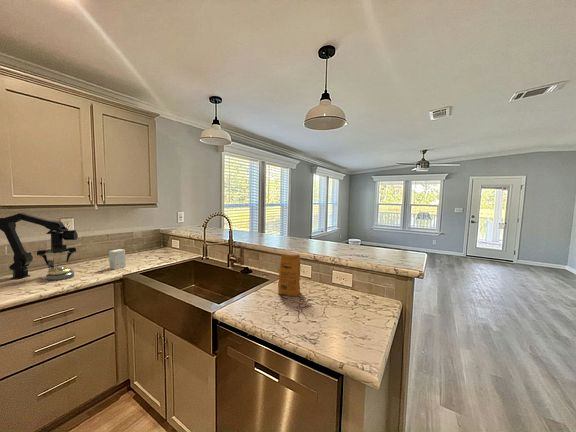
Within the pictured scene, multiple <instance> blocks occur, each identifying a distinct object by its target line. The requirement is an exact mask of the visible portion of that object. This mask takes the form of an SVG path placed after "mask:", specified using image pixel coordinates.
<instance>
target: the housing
mask: <svg viewBox="0 0 576 432" xmlns="http://www.w3.org/2000/svg"><path fill="white" fill-rule="evenodd" d="M74 277H75V271H74V270H72V272H70V273H67V274H63V275H54V276H51V275H48V273H47V274H45V279H46V280H47V281H46V282H58V281H59V282H60V281H65V280H69V279H72V278H74Z"/></svg>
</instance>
